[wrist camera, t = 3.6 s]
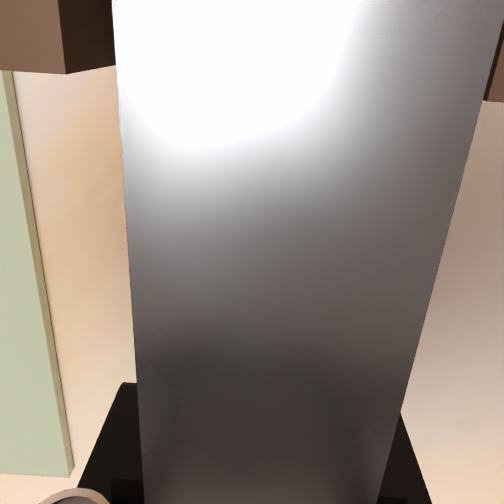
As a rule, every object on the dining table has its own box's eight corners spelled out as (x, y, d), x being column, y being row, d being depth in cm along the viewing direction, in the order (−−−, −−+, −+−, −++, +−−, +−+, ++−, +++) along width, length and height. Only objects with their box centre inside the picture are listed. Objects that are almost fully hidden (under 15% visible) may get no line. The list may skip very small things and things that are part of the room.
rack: (410, -51, 13) (912, -351, 3) (325, 440, 22) (379, 801, 12) (140, -68, 13) (-288, -428, 3) (159, 429, 22) (65, 782, 12)
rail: (176, -352, 5) (54, -871, 2) (464, -335, 5) (727, -832, 2) (185, 686, 14) (166, 839, 11) (282, 692, 14) (285, 847, 11)
